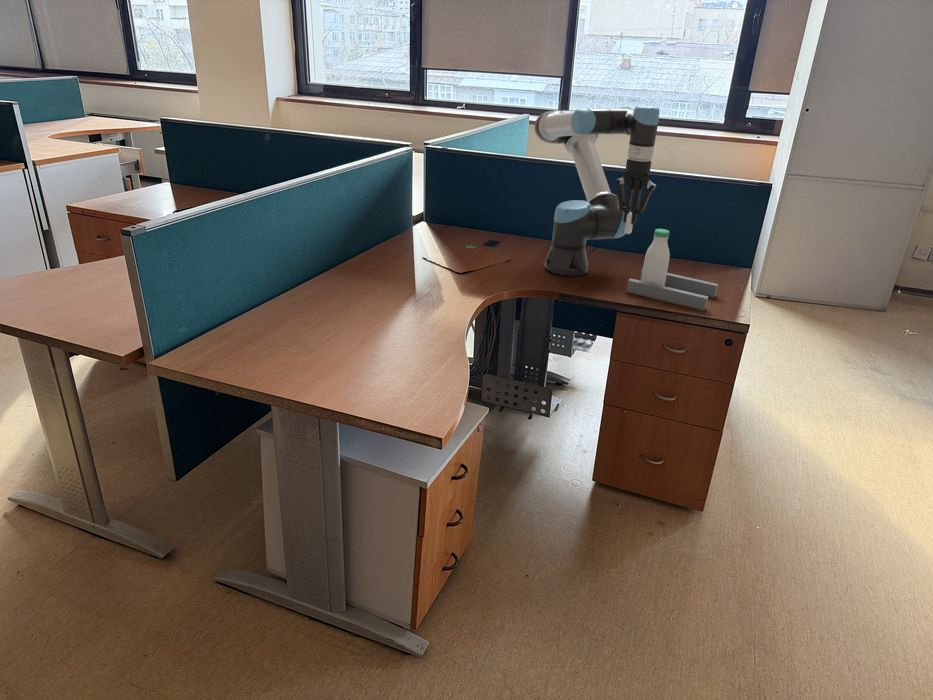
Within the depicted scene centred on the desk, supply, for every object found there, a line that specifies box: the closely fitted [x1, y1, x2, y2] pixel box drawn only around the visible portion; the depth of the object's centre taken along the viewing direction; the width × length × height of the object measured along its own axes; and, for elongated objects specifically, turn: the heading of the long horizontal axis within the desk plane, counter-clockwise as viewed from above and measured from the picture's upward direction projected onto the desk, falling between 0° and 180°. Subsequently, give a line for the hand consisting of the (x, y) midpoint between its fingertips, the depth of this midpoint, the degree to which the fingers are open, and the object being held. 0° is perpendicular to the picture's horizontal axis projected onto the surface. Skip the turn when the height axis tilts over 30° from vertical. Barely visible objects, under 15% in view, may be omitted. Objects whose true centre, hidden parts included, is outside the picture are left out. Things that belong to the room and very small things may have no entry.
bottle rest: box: [626, 267, 719, 311], centre depth 211 cm, size 25×15×4 cm, turn 58°
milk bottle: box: [640, 228, 671, 287], centre depth 211 cm, size 8×8×20 cm
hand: (627, 232), depth 212 cm, fingers closed
